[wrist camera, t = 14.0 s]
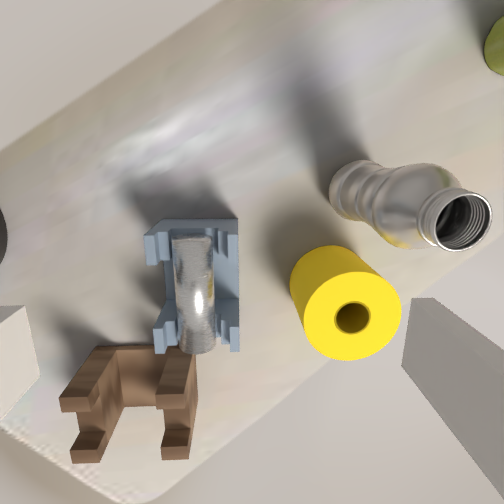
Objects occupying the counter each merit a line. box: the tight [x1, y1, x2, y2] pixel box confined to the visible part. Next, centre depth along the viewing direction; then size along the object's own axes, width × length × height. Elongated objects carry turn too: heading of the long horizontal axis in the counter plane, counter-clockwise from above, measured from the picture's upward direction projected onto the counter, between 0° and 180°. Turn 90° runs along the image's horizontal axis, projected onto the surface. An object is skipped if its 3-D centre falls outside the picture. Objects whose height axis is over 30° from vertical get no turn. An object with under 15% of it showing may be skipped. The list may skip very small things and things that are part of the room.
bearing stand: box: [59, 344, 198, 464], centre depth 40 cm, size 9×13×10 cm
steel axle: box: [171, 233, 216, 354], centre depth 34 cm, size 12×4×4 cm, turn 0°
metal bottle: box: [329, 160, 492, 252], centre depth 29 cm, size 6×7×20 cm
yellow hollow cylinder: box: [289, 245, 401, 360], centre depth 38 cm, size 10×10×9 cm
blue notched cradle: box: [144, 219, 240, 354], centre depth 37 cm, size 9×13×8 cm
